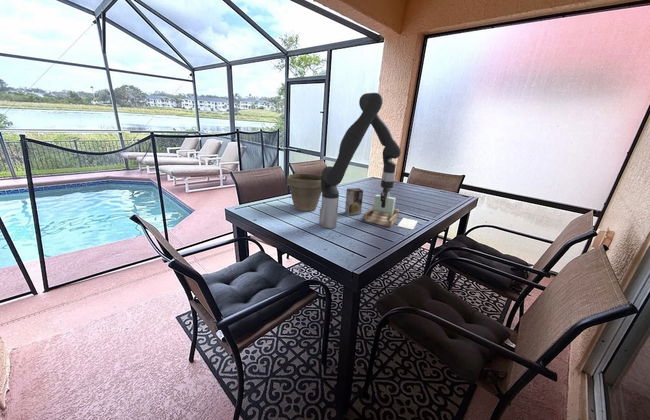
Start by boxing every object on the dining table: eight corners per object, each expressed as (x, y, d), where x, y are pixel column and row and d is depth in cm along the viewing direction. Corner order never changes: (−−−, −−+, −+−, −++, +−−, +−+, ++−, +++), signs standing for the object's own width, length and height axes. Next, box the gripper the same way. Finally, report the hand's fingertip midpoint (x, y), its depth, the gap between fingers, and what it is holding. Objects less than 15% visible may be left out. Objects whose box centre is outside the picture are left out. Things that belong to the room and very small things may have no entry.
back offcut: (372, 219, 157) (373, 211, 155) (374, 217, 159) (375, 210, 157) (386, 222, 153) (387, 214, 151) (388, 221, 155) (389, 213, 153)
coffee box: (357, 211, 169) (359, 187, 164) (361, 214, 164) (363, 190, 158) (344, 211, 167) (346, 188, 161) (348, 215, 161) (350, 190, 155)
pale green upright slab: (372, 216, 161) (375, 195, 156) (374, 215, 164) (377, 194, 159) (390, 220, 155) (394, 199, 150) (392, 219, 158) (395, 197, 154)
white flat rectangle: (397, 226, 147) (397, 225, 147) (403, 218, 161) (403, 217, 160) (412, 230, 143) (412, 229, 143) (417, 221, 157) (418, 221, 156)
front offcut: (370, 220, 154) (371, 214, 153) (372, 219, 156) (373, 213, 155) (384, 224, 149) (385, 218, 148) (386, 223, 152) (387, 217, 150)
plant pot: (308, 200, 186) (309, 171, 179) (331, 209, 169) (333, 178, 162) (279, 206, 170) (279, 174, 163) (302, 217, 153) (302, 182, 146)
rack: (363, 220, 153) (364, 211, 151) (372, 212, 167) (373, 204, 165) (390, 227, 146) (391, 217, 144) (397, 218, 160) (399, 209, 158)
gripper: (385, 176, 159) (381, 202, 165) (378, 180, 147) (374, 208, 153) (396, 178, 155) (392, 204, 161) (390, 182, 144) (386, 210, 149)
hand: (384, 206), depth 157 cm, fingers closed on pale green upright slab, 4 cm apart
